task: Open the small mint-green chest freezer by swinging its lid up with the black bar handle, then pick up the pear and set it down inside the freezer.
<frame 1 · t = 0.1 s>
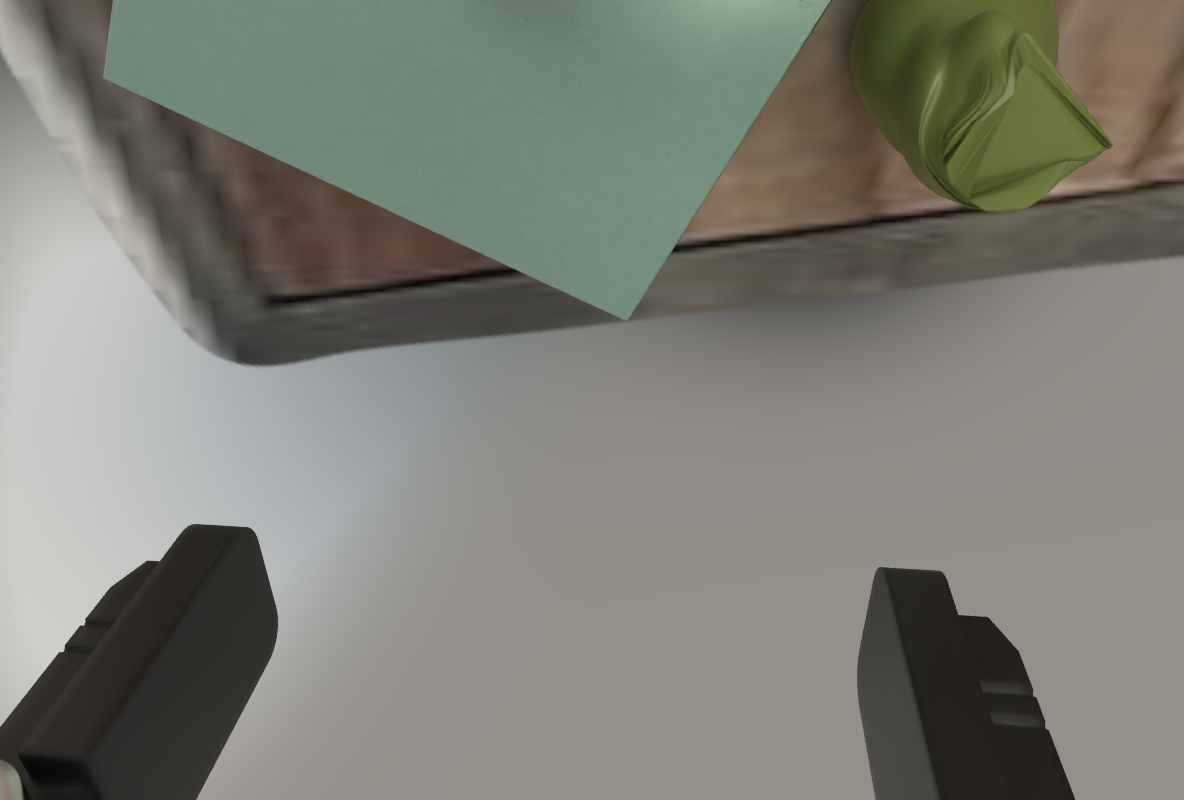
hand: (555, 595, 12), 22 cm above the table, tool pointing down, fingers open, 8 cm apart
pear: (933, 15, 28), on the table
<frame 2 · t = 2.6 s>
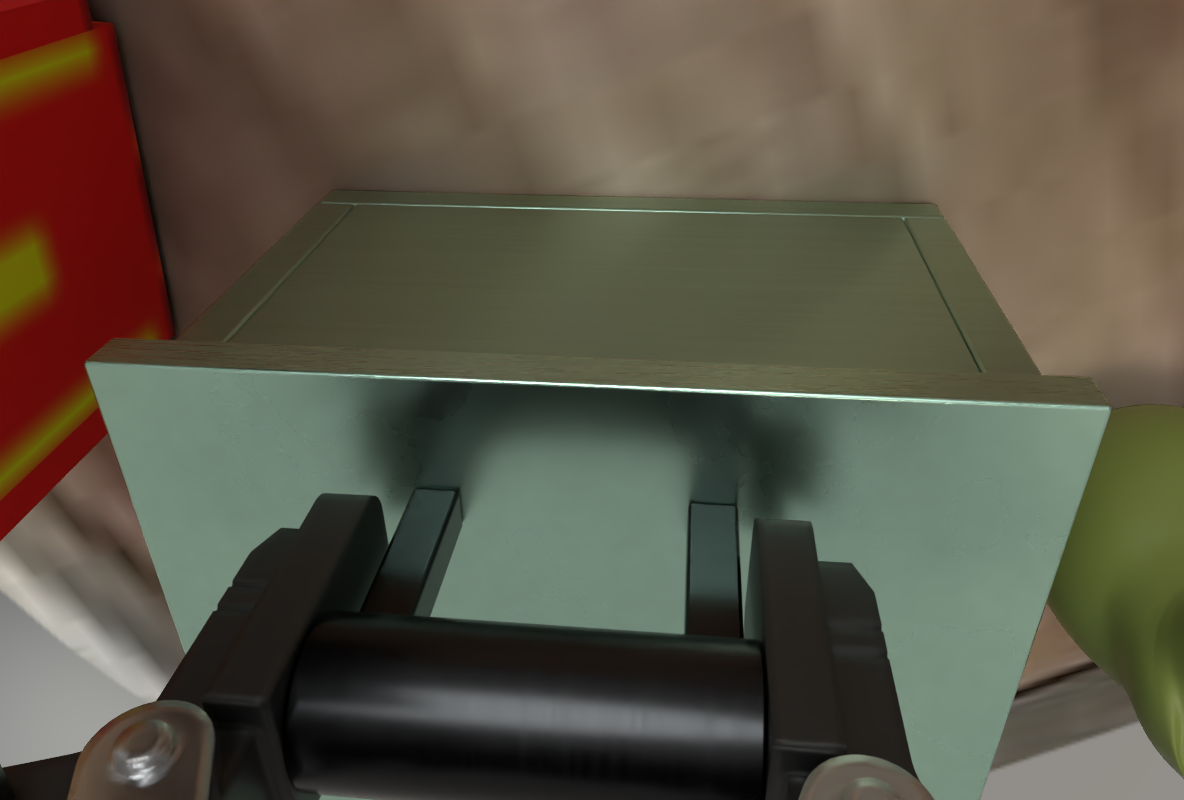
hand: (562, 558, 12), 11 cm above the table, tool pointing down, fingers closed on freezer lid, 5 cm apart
freezer: (623, 460, 25), on the table
french fries container: (39, 175, 22), on the table
pear: (1110, 452, 23), on the table
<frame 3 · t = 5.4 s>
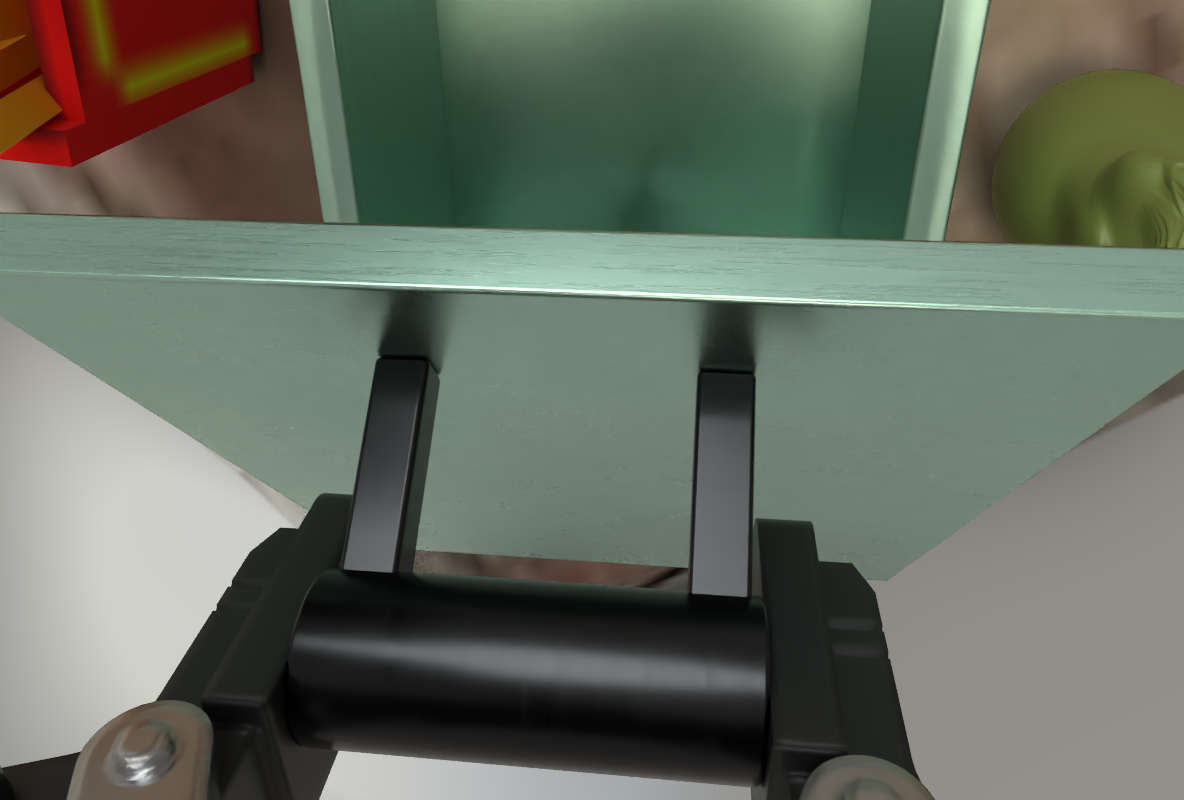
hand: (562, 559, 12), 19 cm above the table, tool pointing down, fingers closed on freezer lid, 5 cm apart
freezer: (645, 170, 28), on the table
freezer lid: (588, 592, 16), point 16 cm above the table, hinge at 39.8°, touching gripper
pear: (1066, 147, 27), on the table
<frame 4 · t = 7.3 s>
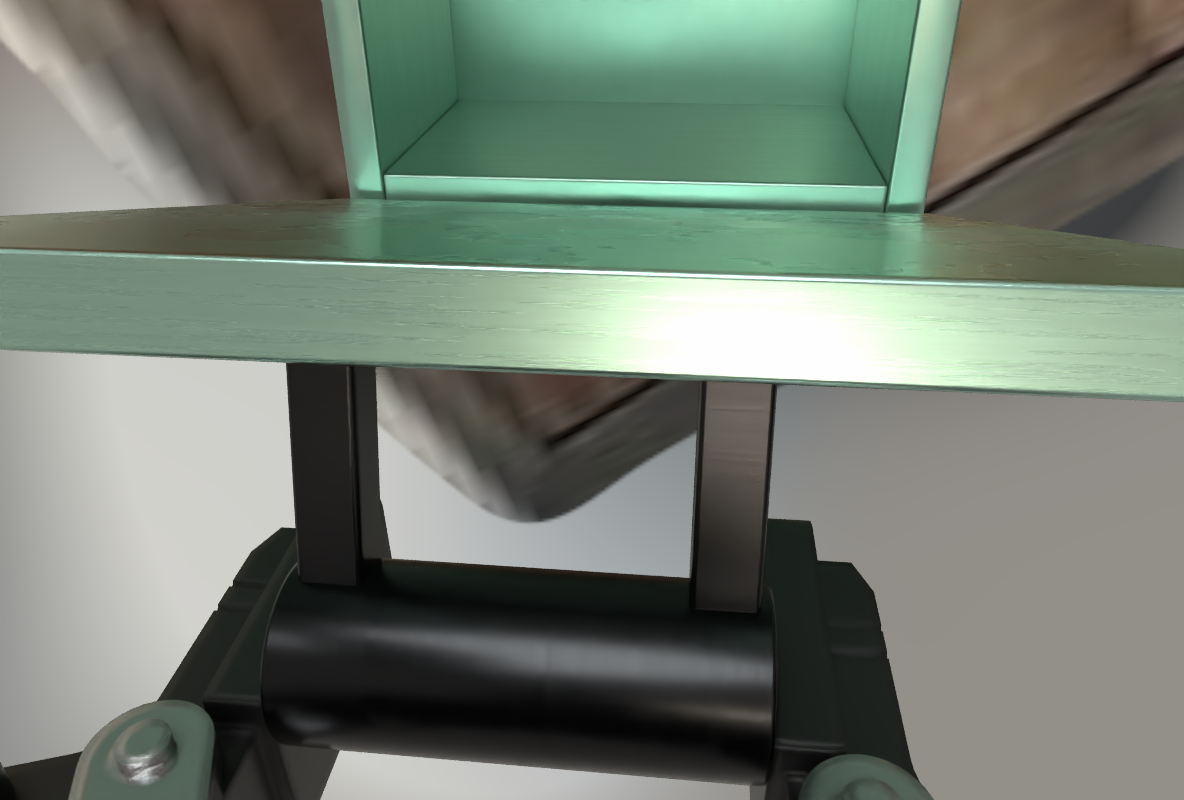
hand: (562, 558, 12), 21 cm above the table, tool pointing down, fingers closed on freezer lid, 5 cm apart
freezer lid: (589, 390, 15), point 17 cm above the table, hinge at 72.8°, touching gripper
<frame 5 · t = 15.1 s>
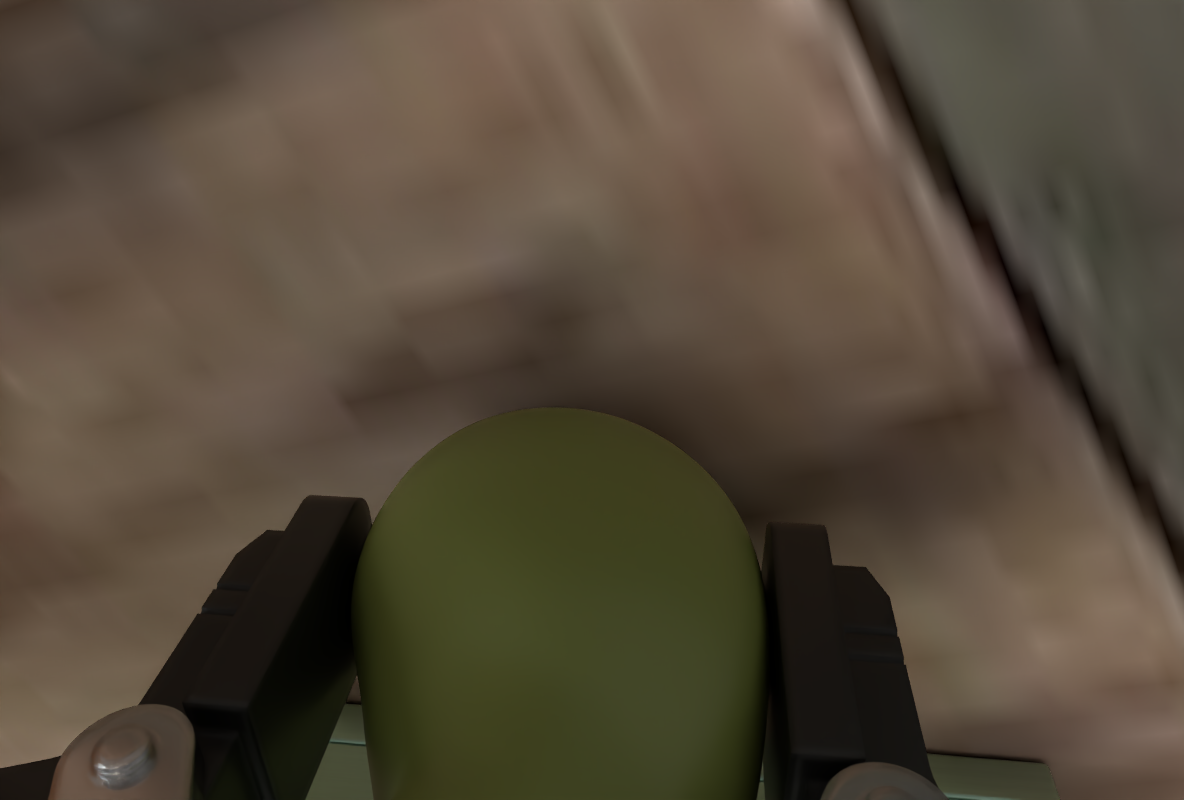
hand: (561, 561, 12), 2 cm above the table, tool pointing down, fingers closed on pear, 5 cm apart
pear: (582, 482, 14), on the table, touching gripper
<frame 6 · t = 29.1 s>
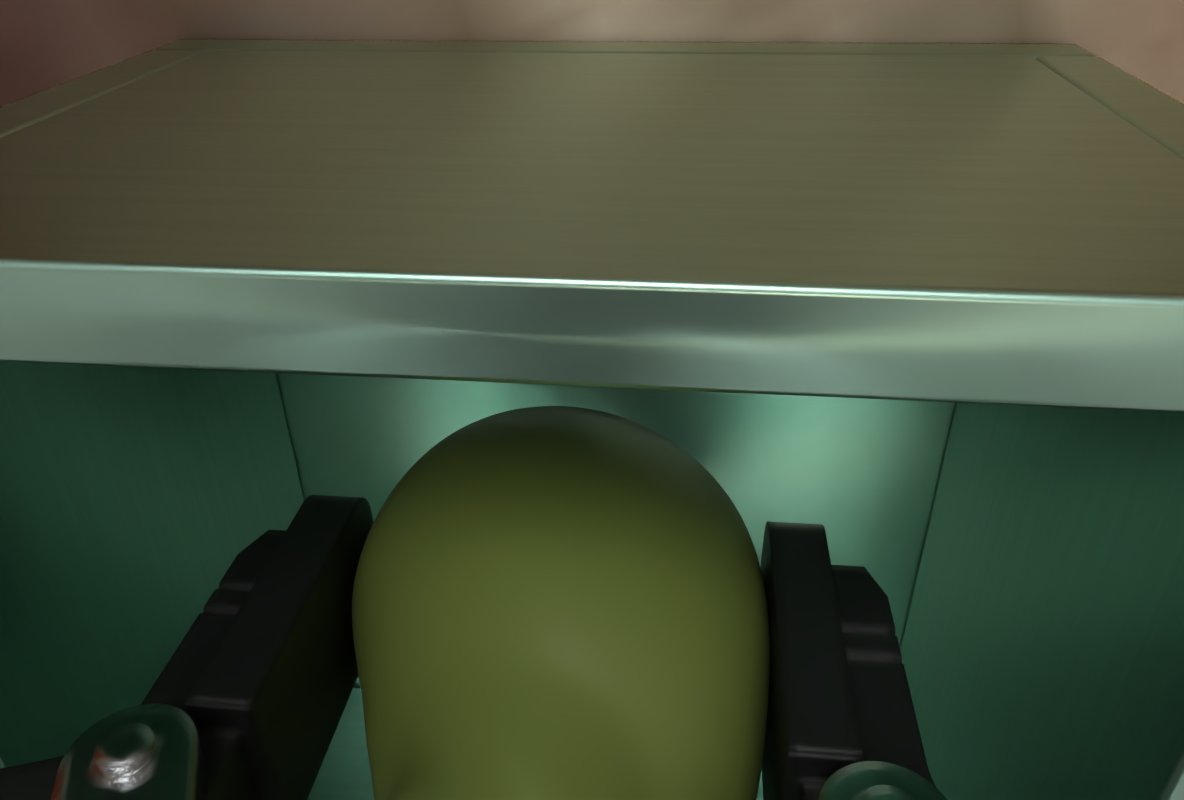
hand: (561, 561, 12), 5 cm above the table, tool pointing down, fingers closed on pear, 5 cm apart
freezer: (608, 442, 18), on the table
pear: (583, 481, 14), point 3 cm above the table, touching gripper
when the fingers open (6 cm above the table, at t = 43.1 s): pear drops 3 cm, resting on freezer.
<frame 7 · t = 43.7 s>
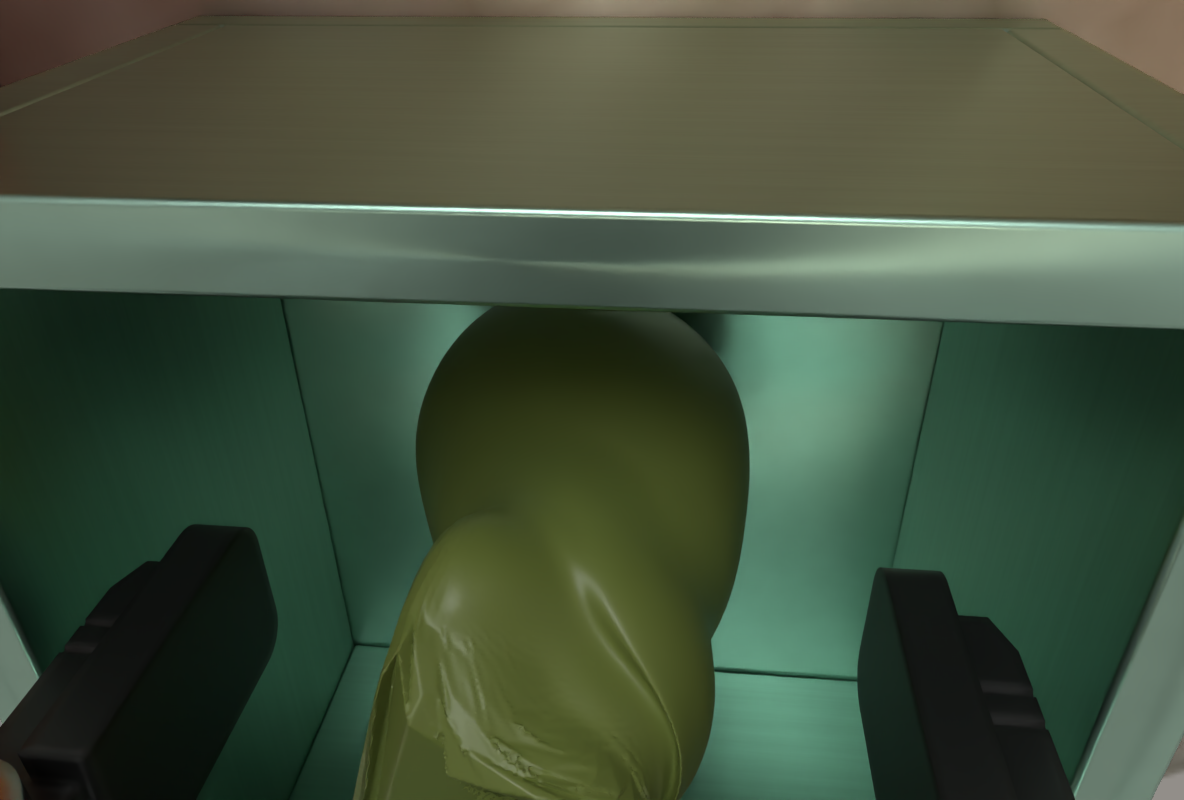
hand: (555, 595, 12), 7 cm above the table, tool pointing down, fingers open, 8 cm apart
freezer: (606, 404, 19), on the table
pear: (596, 365, 17), point 1 cm above the table, touching freezer
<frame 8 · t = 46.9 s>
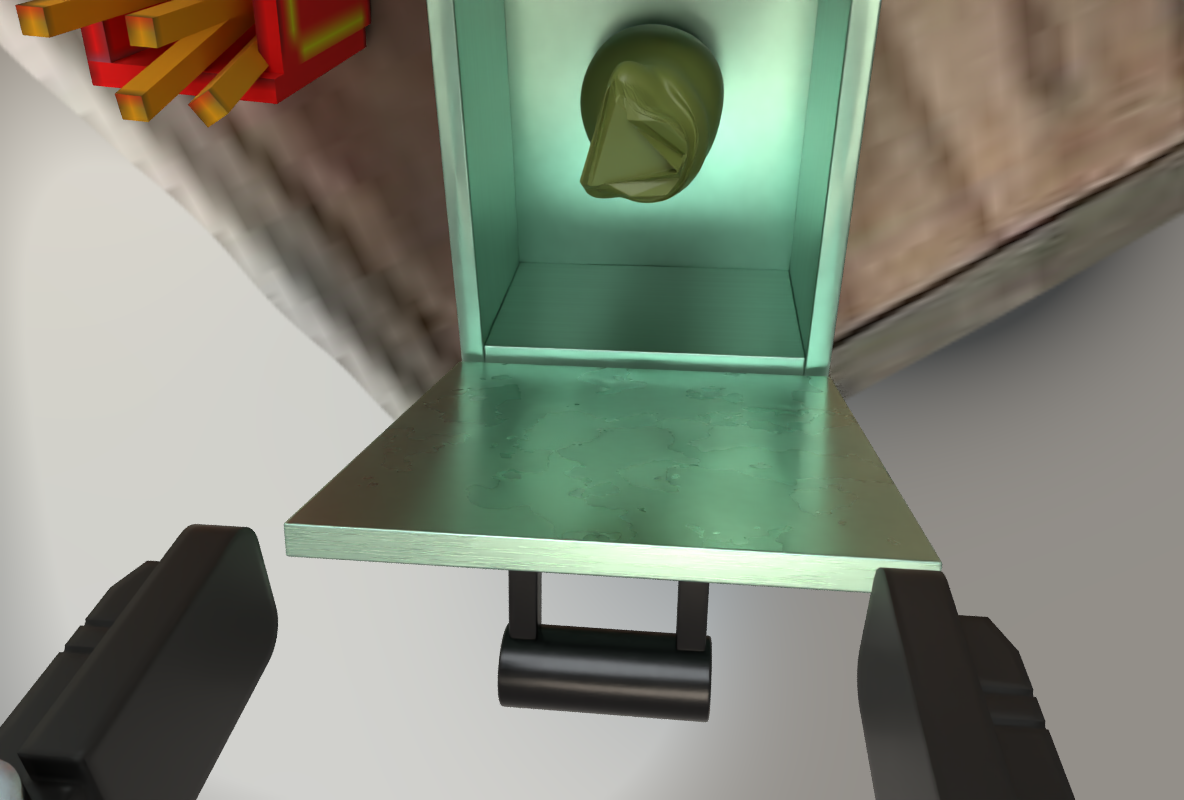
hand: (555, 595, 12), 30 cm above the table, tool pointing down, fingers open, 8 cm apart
freezer: (656, 112, 38), on the table
freezer lid: (624, 517, 27), point 17 cm above the table, hinge at 73.7°
pear: (654, 83, 37), point 1 cm above the table, touching freezer
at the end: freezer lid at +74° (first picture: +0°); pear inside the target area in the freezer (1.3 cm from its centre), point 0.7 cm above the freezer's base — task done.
